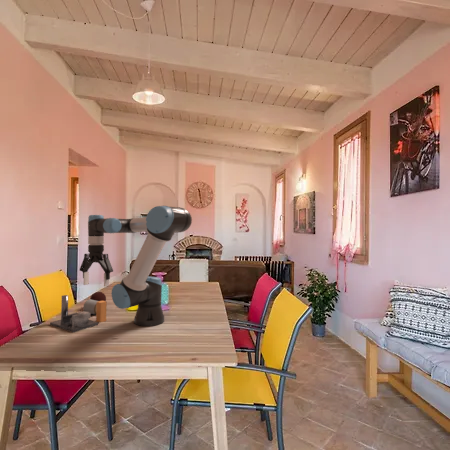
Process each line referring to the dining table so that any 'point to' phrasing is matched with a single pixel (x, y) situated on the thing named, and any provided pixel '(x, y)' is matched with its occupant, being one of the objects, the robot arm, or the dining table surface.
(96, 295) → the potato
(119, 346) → the dining table surface
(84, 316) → the grey rock
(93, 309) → the ceramic mug
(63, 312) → the dark block with post
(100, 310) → the orange rectangular block
